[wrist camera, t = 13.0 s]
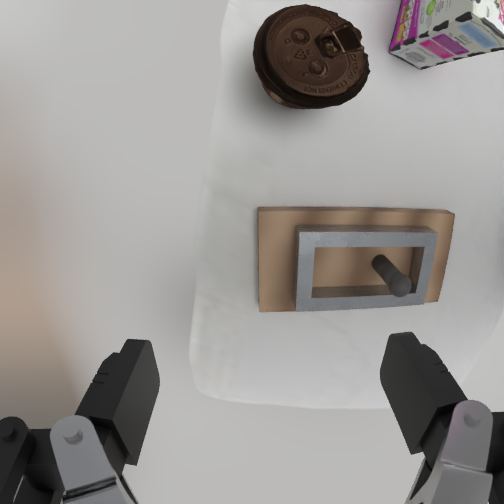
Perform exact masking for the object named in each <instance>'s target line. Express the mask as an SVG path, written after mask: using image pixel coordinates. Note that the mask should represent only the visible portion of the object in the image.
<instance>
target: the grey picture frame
mask: <svg viewBox="0 0 504 504" xmlns="http://www.w3.org/2000/svg"><path fill="white" fill-rule="evenodd" d="M437 239H438V232H436V231H435V230H433V229H431V228H430V227H428V226H399V225H296V245H295V269H294V290H293V302H294V307H295V311H296V312H299V311H327V310H348V309H366V308H382V307H396V306H408V305H420V304H424V301H425V297H426V293H427V289H428V285H429V280H430V275H431V271H432V266H433V261H434V256H435V250H436V244H437ZM315 247H413V253H412V259H411V265H410V270H409V276H408V277H409V279H410V281H411V290H410V292H409V293H408V294H407V295H406V296H404V297H395V296H393V295H392V294H391V292H390V291H389V287H388V286H387V285H365V286H337V287H312V282H313V268H314V253H315Z"/></svg>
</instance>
